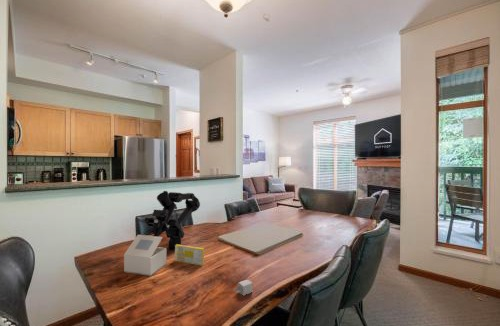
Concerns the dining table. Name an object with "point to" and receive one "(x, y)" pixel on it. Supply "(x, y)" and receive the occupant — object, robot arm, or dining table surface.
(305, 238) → the dining table surface
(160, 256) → the carton
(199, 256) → the candy box
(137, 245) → the carton flap
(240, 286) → the usb wall charger
